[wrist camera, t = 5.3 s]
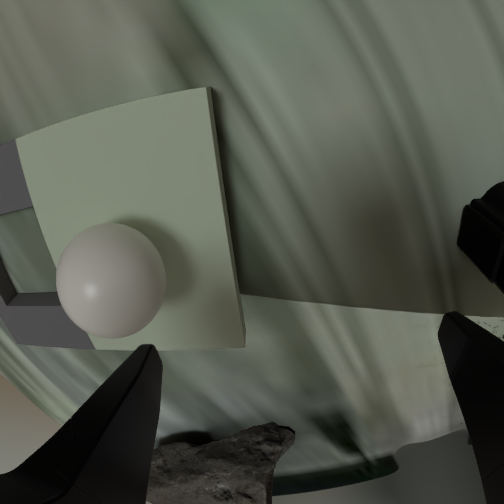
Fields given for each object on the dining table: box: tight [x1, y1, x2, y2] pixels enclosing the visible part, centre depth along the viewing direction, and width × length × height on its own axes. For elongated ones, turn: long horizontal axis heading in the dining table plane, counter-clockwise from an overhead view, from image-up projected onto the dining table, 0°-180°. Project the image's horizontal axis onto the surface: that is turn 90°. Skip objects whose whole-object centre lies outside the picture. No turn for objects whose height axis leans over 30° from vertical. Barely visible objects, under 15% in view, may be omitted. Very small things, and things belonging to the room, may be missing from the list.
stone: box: [146, 422, 295, 504], centre depth 25 cm, size 18×9×10 cm
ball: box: [56, 223, 166, 339], centre depth 13 cm, size 5×5×5 cm
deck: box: [0, 87, 246, 350], centre depth 16 cm, size 18×14×2 cm
